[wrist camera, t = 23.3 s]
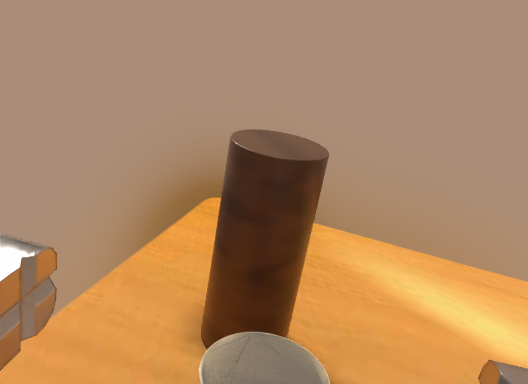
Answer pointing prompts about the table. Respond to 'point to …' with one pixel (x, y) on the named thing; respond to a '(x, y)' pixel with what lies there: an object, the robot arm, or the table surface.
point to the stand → (262, 233)
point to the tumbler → (259, 361)
